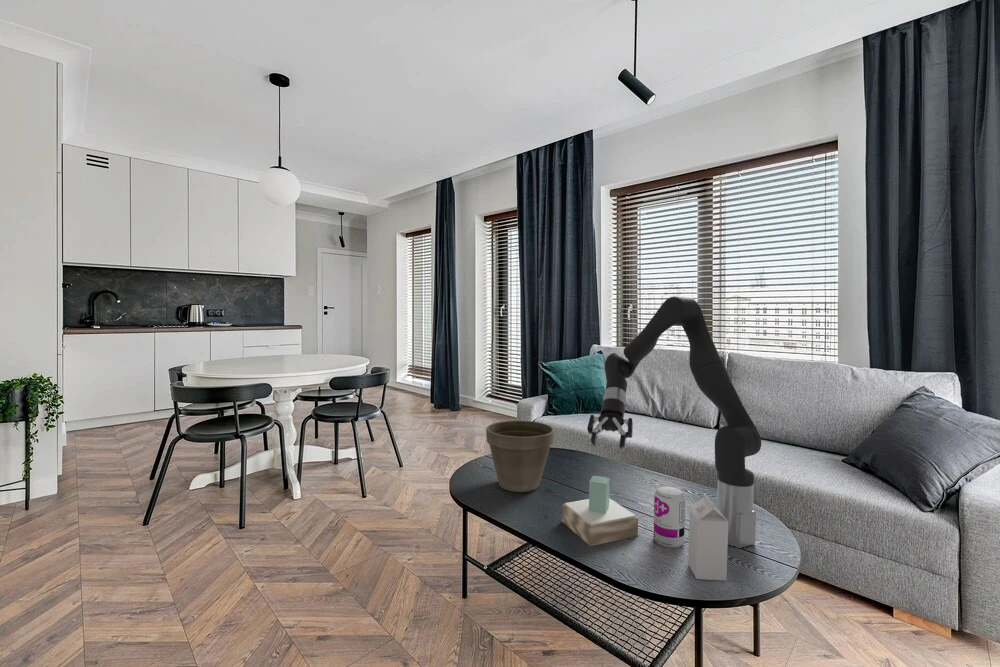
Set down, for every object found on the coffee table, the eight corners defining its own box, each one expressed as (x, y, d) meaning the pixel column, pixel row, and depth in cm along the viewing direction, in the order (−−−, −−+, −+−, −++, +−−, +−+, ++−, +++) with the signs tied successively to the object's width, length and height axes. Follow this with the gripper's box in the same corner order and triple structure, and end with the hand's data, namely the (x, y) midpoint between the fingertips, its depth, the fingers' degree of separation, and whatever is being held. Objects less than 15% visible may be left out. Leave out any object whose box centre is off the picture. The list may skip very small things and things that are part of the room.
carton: (609, 507, 145) (609, 478, 144) (605, 513, 140) (606, 483, 140) (592, 504, 147) (593, 475, 146) (588, 510, 142) (589, 481, 142)
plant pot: (534, 469, 194) (535, 416, 193) (566, 492, 172) (566, 432, 170) (476, 478, 185) (476, 422, 183) (501, 503, 162) (501, 440, 161)
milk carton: (716, 565, 124) (718, 493, 123) (726, 581, 117) (729, 505, 116) (687, 564, 125) (689, 492, 123) (696, 580, 118) (698, 504, 116)
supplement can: (665, 550, 131) (666, 497, 130) (647, 536, 139) (648, 486, 138) (690, 546, 134) (691, 494, 133) (671, 533, 141) (673, 483, 140)
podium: (637, 535, 140) (638, 515, 139) (590, 546, 134) (590, 525, 133) (606, 513, 154) (606, 495, 154) (562, 521, 149) (562, 502, 148)
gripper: (591, 396, 163) (583, 437, 153) (634, 398, 158) (628, 442, 148) (594, 408, 168) (587, 449, 159) (636, 411, 163) (631, 454, 153)
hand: (607, 446), depth 153 cm, fingers open, 8 cm apart
